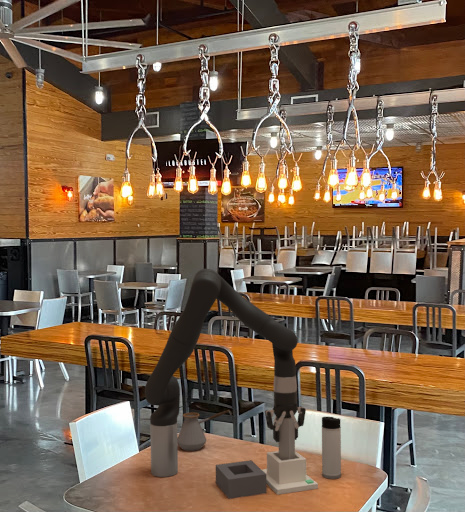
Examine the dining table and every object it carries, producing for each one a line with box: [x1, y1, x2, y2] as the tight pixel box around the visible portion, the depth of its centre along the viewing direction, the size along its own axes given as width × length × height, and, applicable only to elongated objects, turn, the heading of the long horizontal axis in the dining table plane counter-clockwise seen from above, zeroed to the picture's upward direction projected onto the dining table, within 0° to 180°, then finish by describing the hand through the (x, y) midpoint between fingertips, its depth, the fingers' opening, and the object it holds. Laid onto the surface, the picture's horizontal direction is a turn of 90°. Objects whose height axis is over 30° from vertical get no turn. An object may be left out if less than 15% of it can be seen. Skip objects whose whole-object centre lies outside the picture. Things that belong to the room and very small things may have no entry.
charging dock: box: [261, 450, 319, 496], centre depth 203 cm, size 18×14×8 cm
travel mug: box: [321, 416, 342, 480], centre depth 207 cm, size 6×7×20 cm
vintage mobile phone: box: [275, 416, 296, 461], centre depth 202 cm, size 4×5×25 cm
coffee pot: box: [177, 409, 232, 452], centre depth 237 cm, size 21×12×15 cm, turn 83°
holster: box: [215, 459, 268, 500], centre depth 198 cm, size 14×12×6 cm
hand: (285, 440), depth 203 cm, fingers closed on vintage mobile phone, 5 cm apart
